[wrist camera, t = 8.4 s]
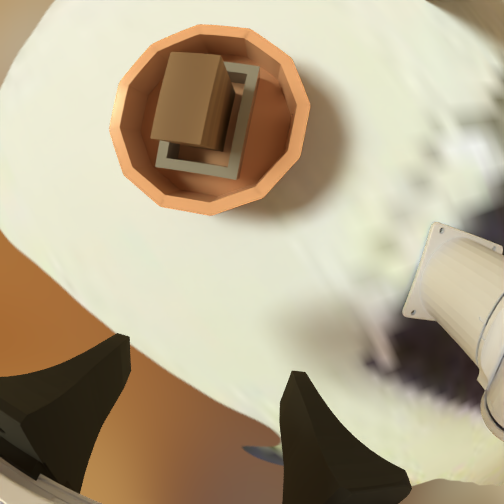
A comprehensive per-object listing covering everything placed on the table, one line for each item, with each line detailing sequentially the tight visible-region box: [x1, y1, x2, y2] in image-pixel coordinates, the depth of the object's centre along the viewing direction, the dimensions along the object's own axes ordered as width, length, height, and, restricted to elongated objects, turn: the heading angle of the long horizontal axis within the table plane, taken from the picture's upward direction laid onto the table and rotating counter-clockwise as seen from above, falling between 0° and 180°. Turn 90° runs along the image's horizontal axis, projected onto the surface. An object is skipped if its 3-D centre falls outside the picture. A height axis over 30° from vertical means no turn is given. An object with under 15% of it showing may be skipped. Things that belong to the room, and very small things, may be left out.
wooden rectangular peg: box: [150, 52, 235, 152], centre depth 14 cm, size 2×4×7 cm, turn 169°
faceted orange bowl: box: [109, 24, 310, 216], centre depth 16 cm, size 11×11×4 cm
